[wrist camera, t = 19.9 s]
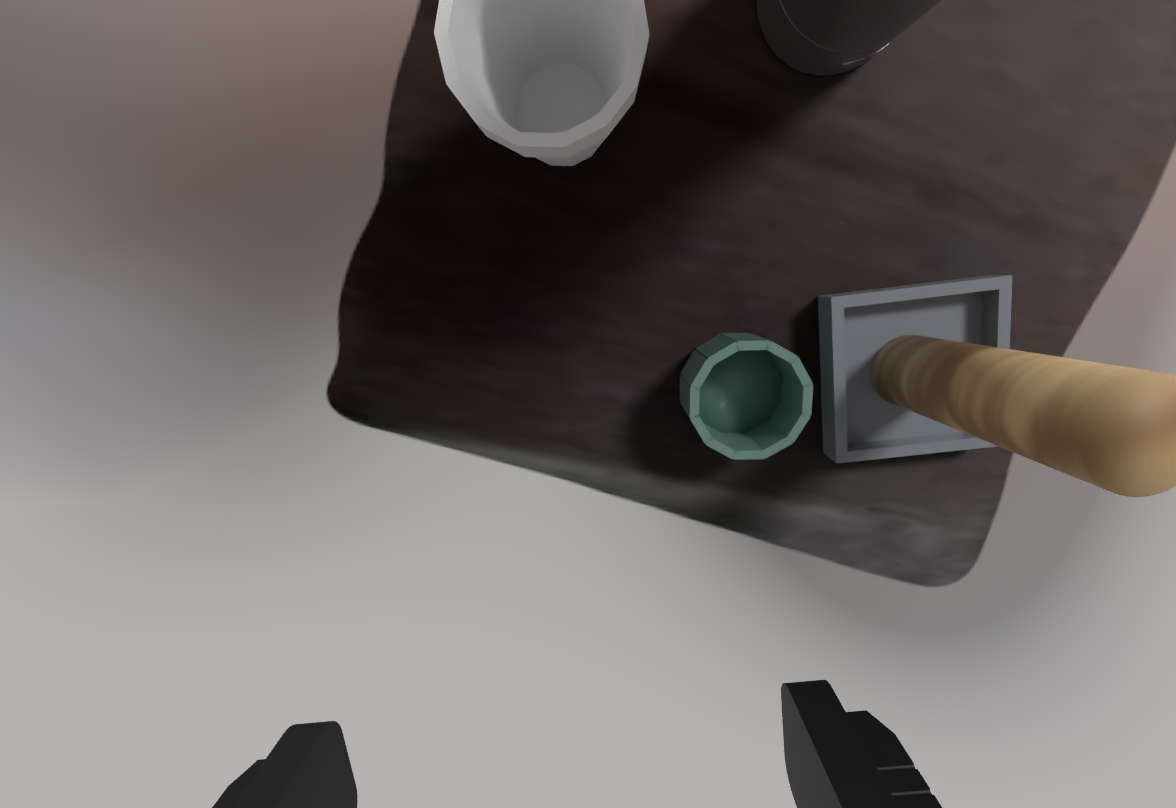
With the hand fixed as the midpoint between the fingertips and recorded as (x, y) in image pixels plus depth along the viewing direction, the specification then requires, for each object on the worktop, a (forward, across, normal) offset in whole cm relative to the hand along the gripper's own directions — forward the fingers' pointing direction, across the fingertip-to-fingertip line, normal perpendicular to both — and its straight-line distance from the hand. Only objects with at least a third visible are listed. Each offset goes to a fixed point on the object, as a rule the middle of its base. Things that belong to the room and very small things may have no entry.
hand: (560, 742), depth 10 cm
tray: (+32, -22, +1) cm, 39 cm away
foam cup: (+32, 0, -19) cm, 37 cm away
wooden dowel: (+31, -22, +1) cm, 38 cm away
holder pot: (+32, -10, +1) cm, 34 cm away
